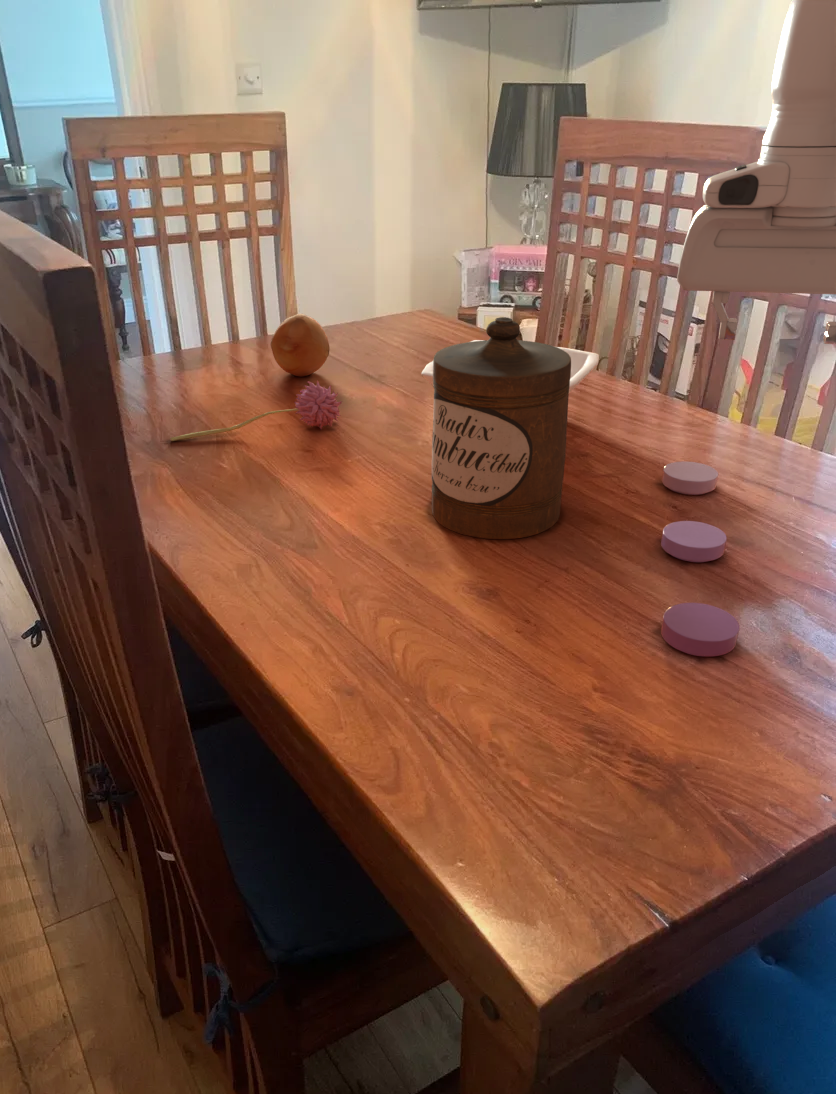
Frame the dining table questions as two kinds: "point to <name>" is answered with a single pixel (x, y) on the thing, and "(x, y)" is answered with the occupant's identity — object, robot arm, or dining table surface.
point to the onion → (300, 345)
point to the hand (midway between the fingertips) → (778, 340)
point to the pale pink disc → (689, 477)
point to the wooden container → (499, 434)
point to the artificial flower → (311, 406)
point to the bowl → (579, 366)
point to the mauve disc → (700, 629)
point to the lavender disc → (693, 541)
